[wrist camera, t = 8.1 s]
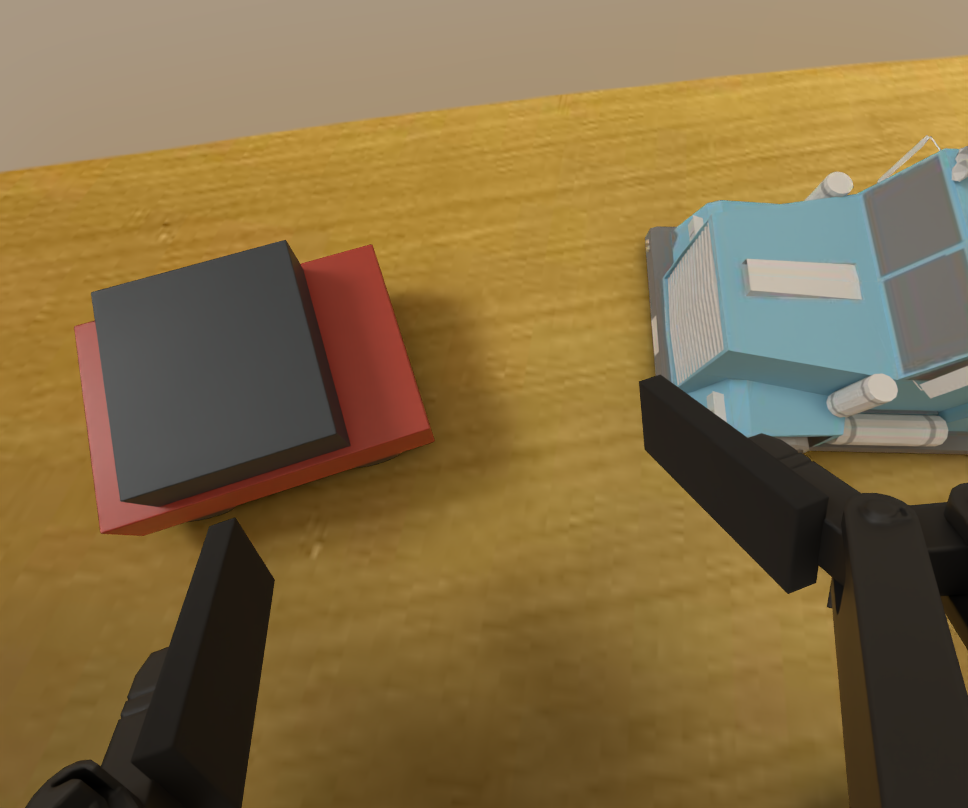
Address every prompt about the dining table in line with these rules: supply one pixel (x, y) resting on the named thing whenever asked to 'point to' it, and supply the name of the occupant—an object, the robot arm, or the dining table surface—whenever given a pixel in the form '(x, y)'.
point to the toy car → (241, 383)
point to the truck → (825, 311)
